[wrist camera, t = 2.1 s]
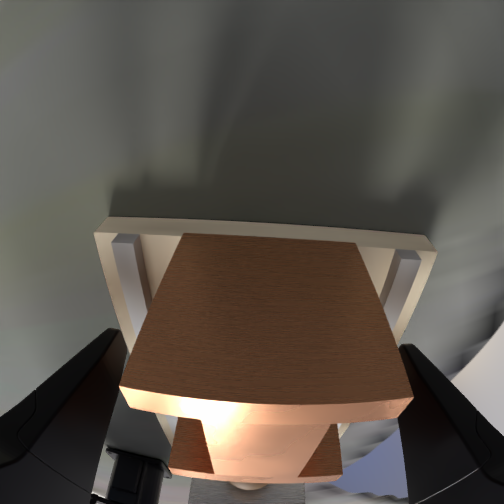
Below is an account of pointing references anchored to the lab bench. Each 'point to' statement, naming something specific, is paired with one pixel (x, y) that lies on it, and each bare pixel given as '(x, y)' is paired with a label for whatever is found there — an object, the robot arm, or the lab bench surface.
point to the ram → (264, 357)
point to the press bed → (171, 230)
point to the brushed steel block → (244, 493)
